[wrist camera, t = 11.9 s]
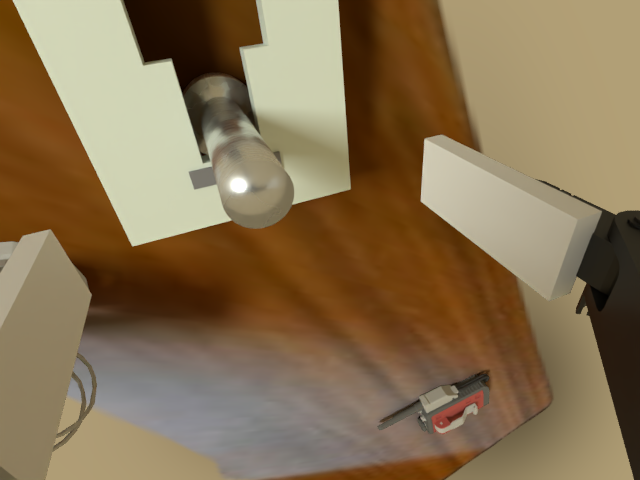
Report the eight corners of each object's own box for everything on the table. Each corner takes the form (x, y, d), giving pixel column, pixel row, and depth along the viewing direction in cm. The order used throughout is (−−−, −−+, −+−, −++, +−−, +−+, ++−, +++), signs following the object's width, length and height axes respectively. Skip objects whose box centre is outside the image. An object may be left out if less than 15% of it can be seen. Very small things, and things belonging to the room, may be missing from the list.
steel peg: (168, 79, 25) (166, 145, 13) (247, 66, 26) (314, 115, 14) (192, 156, 28) (209, 267, 16) (262, 141, 29) (327, 234, 17)
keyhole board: (-25, -149, 17) (-86, -198, 13) (295, -160, 21) (326, -202, 17) (137, 213, 29) (132, 247, 25) (328, 166, 32) (351, 190, 28)
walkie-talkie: (482, 360, 60) (372, 416, 57) (502, 382, 56) (386, 443, 54) (482, 388, 65) (381, 441, 62) (500, 410, 61) (394, 467, 59)
